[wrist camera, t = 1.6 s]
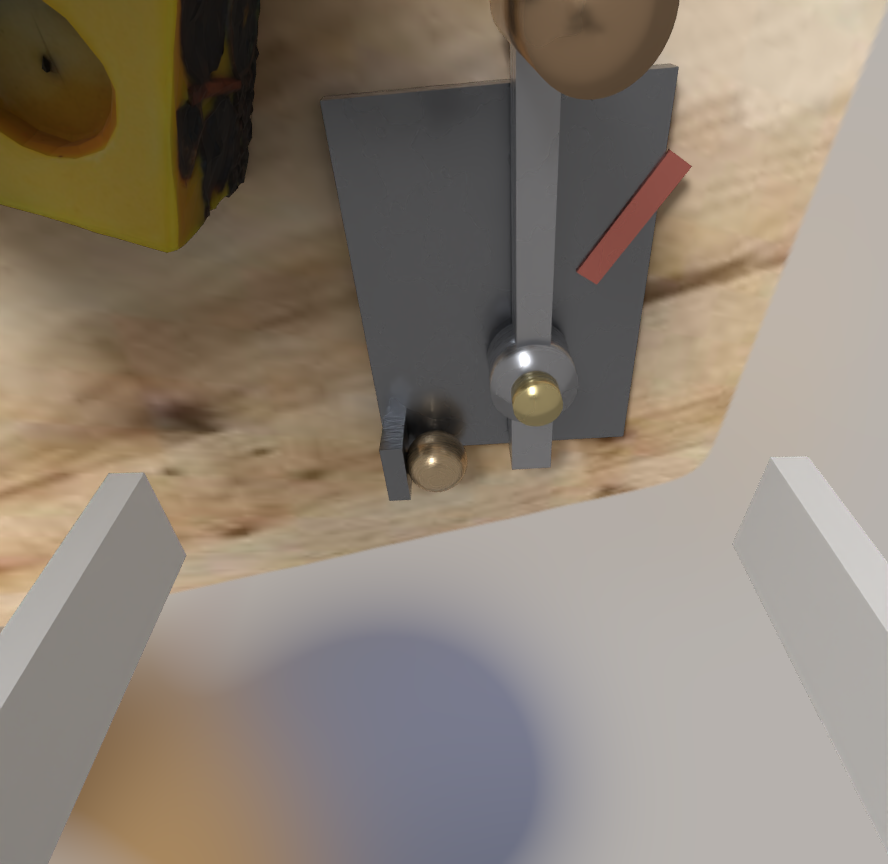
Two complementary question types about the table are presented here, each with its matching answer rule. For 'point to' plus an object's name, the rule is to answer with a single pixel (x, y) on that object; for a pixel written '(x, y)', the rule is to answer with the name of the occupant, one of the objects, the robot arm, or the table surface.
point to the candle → (126, 112)
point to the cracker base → (493, 258)
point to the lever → (555, 170)
